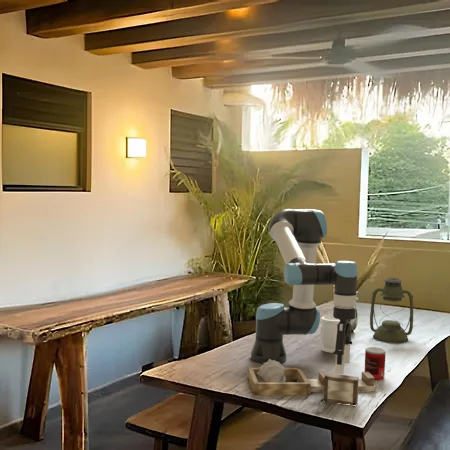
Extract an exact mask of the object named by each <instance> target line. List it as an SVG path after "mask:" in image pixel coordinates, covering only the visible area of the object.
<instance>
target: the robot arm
mask: <svg viewBox="0 0 450 450" xmlns="http://www.w3.org/2000/svg"><path fill="white" fill-rule="evenodd" d="M268 233H269V236H270V238H271V239H272V240H273V241H274V242H275V243H276V245H277V248H278V250H279V252H280V254H281V257H282V259H283V261H284V264H285V265H284V268H283V277H284V283H286V284H287V285H291V286H292V285H293V288H292V289H293V291H292V298H291V299H290V300H289V301H288V306H285V305H284V303H281V302H270V303H265V304H261V305H259V306H258V307H257V309H256V314H255V320H256V321H255V341H254V344H253V346H252V349H251V351H250V359H251V360H252V361H254V362H256V363H259V364H264V363H266V362H268V360H269V359H271V360H272V361H273V360H275V361H277V362H280V364H282V363H285V362H286V361H287V351H286V349H285V344H284V335H293V336H294V335H300V336H301V335H303V336H306V335H313V334H315V333H316V332H317V331H318V329H319V326H320V322H321V312H320V309H319V307H317V304H316V302H314V290H315V286H317V285H318V286H319V285H320V286H321V285H322V286H323V285H325V286H333V288H334V289H333V310H332V314H333V315H332V316H333V317H334V318H336V319H339V320H340V322H339V324H338V325H337V337H336V347H335V352H333V353H332V354H333V355H335V364H334V365H335V366H334V369H335V370H334V374H340V375H345V374H344V372H345V371H344V370H345V364H347V365H348V364H350V357H351V356H350V355H351V345H353V341H352V334H351V333H352V330H351V321H352V320H355V319H356V318H357V317H356V314H357V308H356V307H357V302H358V301H359V298H358V297H357V293H358V292H357V291H358V290H357V289H358V288H357V287H358V275H359V272H358V264H357V262H356V261H352V260H337V261H336V262H327V263H317V250H318V246H319V245H320V244H321V243H322V239H324V238H326V237H327V234H328V221H327V218H326V215H325V214H324V212H323V211H321V210H320V209H311V208H309V209H308V208H305V209H303V208H300V209H299V208H298V209H295V208H293V209H292V208H286V209H282V210H280V211H278V212H276V213H275V214H274V215H273V216H272V217H271V219H270V221H269V224H268ZM340 350H341V351H340Z"/></svg>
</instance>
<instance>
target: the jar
mask: <svg viewBox="0 0 450 450" xmlns="http://www.w3.org/2000/svg"><path fill="white" fill-rule="evenodd" d="M320 321H321V325H320V338H321V339H320V340H321V344H322V351H323V352H325V353H329V354H330V353H332V354H333V352H335V347H336V337H337V325H338V324H339V322H340V320H339V319H336V318H334V317H333V315H324V316H322V317H321V316H320ZM340 351H341V350H340Z"/></svg>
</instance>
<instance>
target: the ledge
mask: <svg viewBox="0 0 450 450" xmlns="http://www.w3.org/2000/svg"><path fill="white" fill-rule="evenodd" d="M326 373H327V372H326V371H318V375H317V376H318V378H315V379H314V378H307V379H308V381H309V382H310V384H311V387H310V393H311V392H312V393H324V380H325V375H326ZM375 381H376V380H375V378H374V377H373V376H372V375H371V374H370V373H369V372H364V371H361V377H360V378H359V382H358V393H360V392H361V393H367V392H366V391H370V393H372V392H371V391H376V392H377V386H376V385H375ZM359 391H360V392H359Z"/></svg>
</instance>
